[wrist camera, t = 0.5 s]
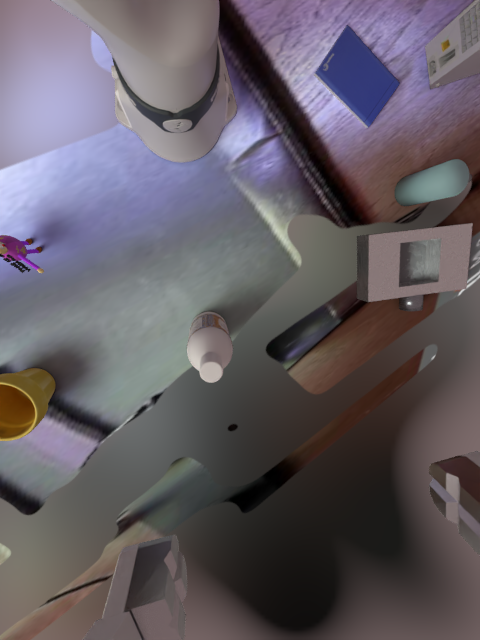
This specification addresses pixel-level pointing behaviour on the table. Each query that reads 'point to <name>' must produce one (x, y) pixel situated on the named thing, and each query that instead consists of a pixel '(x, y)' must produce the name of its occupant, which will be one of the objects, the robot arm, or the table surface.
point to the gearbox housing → (413, 264)
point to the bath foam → (209, 345)
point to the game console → (455, 49)
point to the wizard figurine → (17, 252)
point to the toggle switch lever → (433, 183)
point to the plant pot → (23, 401)
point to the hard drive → (356, 77)
